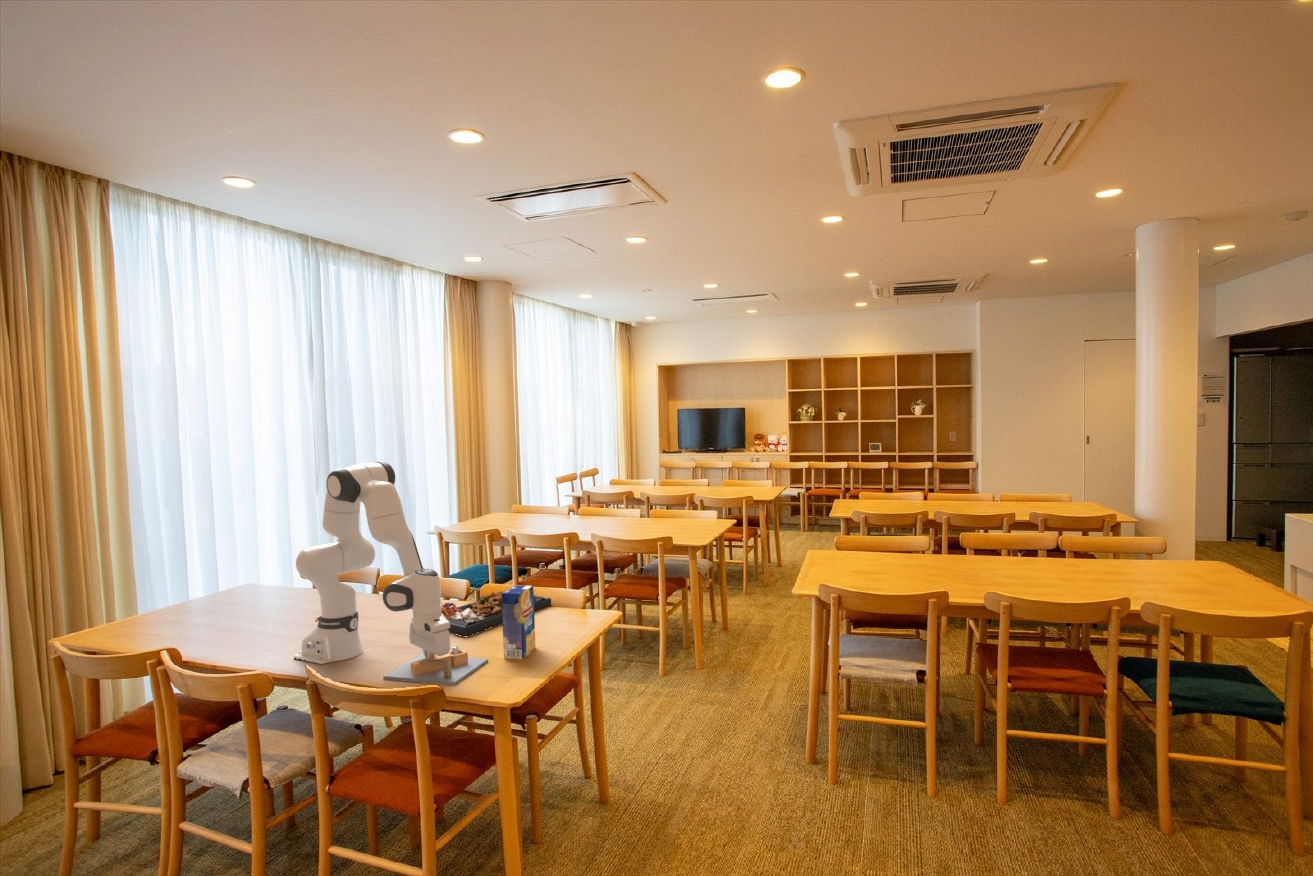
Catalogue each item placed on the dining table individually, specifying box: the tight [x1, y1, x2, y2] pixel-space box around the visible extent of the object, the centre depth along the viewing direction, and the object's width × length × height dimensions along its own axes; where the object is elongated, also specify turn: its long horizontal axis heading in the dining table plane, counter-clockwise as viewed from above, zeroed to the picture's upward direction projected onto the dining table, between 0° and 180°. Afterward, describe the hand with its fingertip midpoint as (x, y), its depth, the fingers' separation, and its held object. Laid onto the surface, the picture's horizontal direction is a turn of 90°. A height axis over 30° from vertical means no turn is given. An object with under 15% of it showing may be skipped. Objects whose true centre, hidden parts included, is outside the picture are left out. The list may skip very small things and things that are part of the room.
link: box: [411, 648, 469, 676], centre depth 218 cm, size 17×5×3 cm, turn 130°
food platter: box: [440, 590, 552, 637], centre depth 276 cm, size 45×25×10 cm, turn 146°
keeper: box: [420, 659, 452, 679], centre depth 211 cm, size 10×2×5 cm, turn 75°
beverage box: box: [502, 584, 536, 659], centre depth 231 cm, size 7×11×22 cm, turn 169°
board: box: [382, 653, 489, 686], centre depth 219 cm, size 25×20×1 cm
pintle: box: [451, 645, 459, 655], centre depth 222 cm, size 2×2×5 cm
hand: (429, 663), depth 219 cm, fingers closed
